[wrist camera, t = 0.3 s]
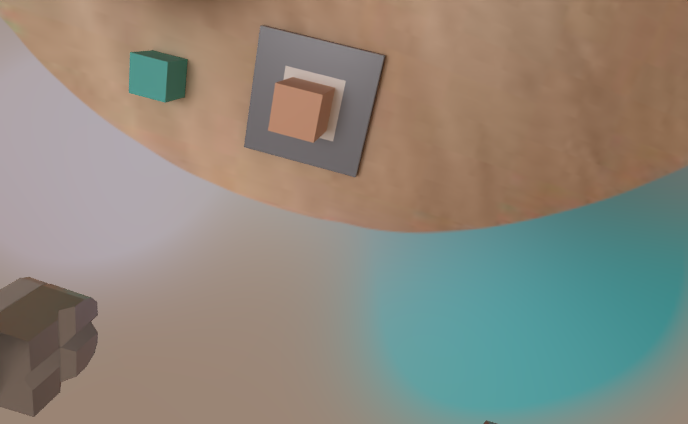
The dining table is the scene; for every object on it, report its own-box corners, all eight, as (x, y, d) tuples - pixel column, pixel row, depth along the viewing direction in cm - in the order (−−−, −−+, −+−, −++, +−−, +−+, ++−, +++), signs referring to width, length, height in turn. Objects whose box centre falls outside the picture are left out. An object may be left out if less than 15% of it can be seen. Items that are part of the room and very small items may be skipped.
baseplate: (264, 25, 53) (260, 25, 52) (385, 55, 52) (384, 55, 51) (247, 144, 59) (244, 147, 57) (357, 174, 57) (355, 177, 56)
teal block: (153, 50, 57) (130, 52, 53) (187, 59, 56) (167, 62, 52) (151, 88, 58) (128, 92, 54) (184, 97, 58) (165, 102, 54)
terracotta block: (292, 76, 53) (275, 82, 48) (335, 87, 53) (322, 94, 47) (285, 120, 55) (267, 130, 50) (326, 131, 55) (313, 142, 49)
